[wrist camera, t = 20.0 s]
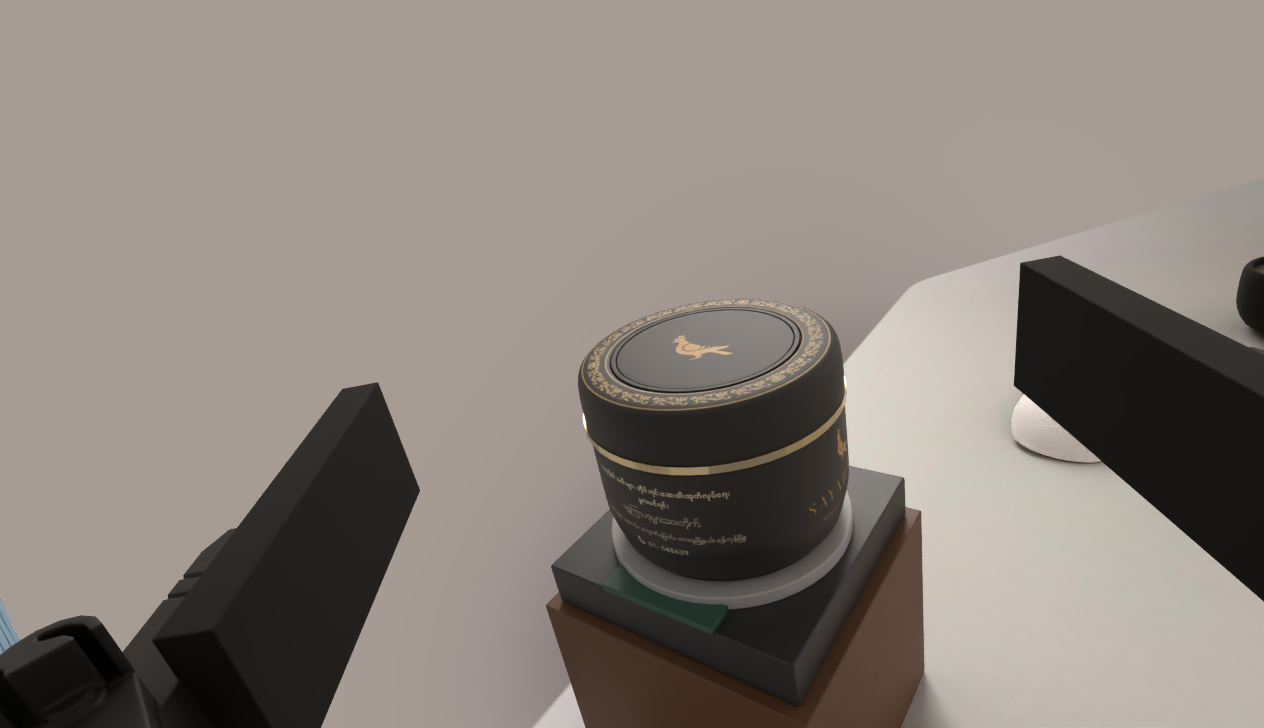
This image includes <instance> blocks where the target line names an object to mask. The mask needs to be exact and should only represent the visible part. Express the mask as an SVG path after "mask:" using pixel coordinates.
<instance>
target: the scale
mask: <svg viewBox="0 0 1264 728" xmlns="http://www.w3.org/2000/svg"><path fill="white" fill-rule="evenodd" d="M551 568H552V571H553V574H554V577H555V581H556V584H557V587H558V590H559V593H558V594H557V595H556V596H555V597H554V598H553V599H552V600H551V601H550V602H549V603H548V604H547V605H546V608H547V611H548V614H549V617H550V620H551V623H552V626H553V629H554V632H555V635H556V638H557V641H558V644H559V648H560V651H561V654H562V656H563V660H564V663H565V666H566V669H567V672H568V675H569V678H570V681H571V684H572V687H573V691H574V694H575V697H576V700H577V703H578V706H579V709H580V712H581V715H582V718H583V721H584V724H585V727H586V728H901V725H902V723H903V720H904V718H905V715H906V713H907V711H908V708H909V706H910V703H911V701H912V699H913V696H914V694H915V691H916V689H917V686H918V684H919V682H920V679H921V677H922V674H923V672H924V630H923V581H922V532H921V511H919V510H915V509H911V508H907V507H905V482H904V478H903V477H899V476H894V475H889V474H885V473H880V472H875V471H871V470H866V469H861V468H856V467H852V466H849V480H848V486H847V490H846V495H845V498H844V502H843V506H842V510H841V513H840V516H839V518H838V521H837V523H836V525H835V526H834V528H833V529H832V531H831V532H830V534H829V535H828V536H827V537H826V538H825V539H824V540H823V541H822V542H821V543H820V544H819V545H818V546H817V547H816V548H815V549H813V550H812V551H811V552H810V553H809V554H807V555H806V556H805V557H803V558H802V559H800V560H799V561H797V562H795V563H793V564H792V565H790V566H788V567H786V568H783V569H781V570H779V571H776V572H773V573H770V574H767V575H764V576H760V577H755V578H750V579H744V580H736V581H707V580H699V579H693V578H689V577H684V576H681V575H678V574H675V573H672V572H670V571H668V570H666V569H664V568H662V567H659V566H657V565H655V564H654V563H652V562H650V561H649V560H647V559H646V558H644V557H643V556H642V555H641V554H639V553H638V552H637V551H636V550H635V549H634V547H633V546H632V545H631V544H630V542H629V541H628V539H627V538H626V536H625V535H624V533H623V532H622V530H621V528H620V527H619V525H618V524H617V522H616V520H615V518H614V517H613V515H612V512H611V510H609V511H608V512H607V513H606V514H605V515H603V516H602V518H601V519H599V520H598V521H597V522H596V523H595V524H594V525H593V526H592V527H591V528H590V529H589V530H588V531H587V532H586V533H585V534H584V535H583V536H582V537H581V538H580V539H578V541H576V542H575V543H574V544H573V545H572V546H571V547H570V548H569V549H568V550H567V551H566V552H565V553H564V554H563V555H562V556H561V557H560V558H559V559H557V560H556V561H555V562H554V564H552V566H551Z"/></svg>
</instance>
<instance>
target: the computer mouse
mask: <svg viewBox="0 0 1264 728" xmlns="http://www.w3.org/2000/svg"><path fill="white" fill-rule="evenodd" d="M1011 425H1012V426H1011V427H1012V428H1011V429H1012V435H1013V438H1014V439H1015V440H1016V441H1018V442H1019V443H1021V444H1022V445H1023V446H1025V447H1026V448H1028V449H1030V450H1032V451H1034V452H1036V453H1040V454H1043V455H1047V456H1049V457H1052V458H1053V457H1054V458H1056V459H1062V460H1066V461H1067V460H1068V461H1075V462H1086V463H1091V462H1100V461H1101V460H1100V459H1098V458H1097V457H1096V456H1095V455H1094V454H1093V453H1092V452H1090V451H1089V450H1088V449H1087V448H1086V447H1085V446H1083V445H1082V444H1081V443H1080V442H1079V441H1078V440H1076V439H1075V438H1074V437H1073V436H1072V435H1071V434H1070V433H1068V432H1067V431H1066V430H1065V429H1064V428H1063V427H1061V426H1060V425H1059V424H1058V423H1057V422H1056V421H1055V420H1053V419H1052V418H1051V417H1050V416H1049V415H1048V414H1046V413H1045V412H1044V411H1043V410H1042V409H1041V408H1039V407H1038V406H1037V405H1036V404H1035V403H1034V402H1033V401H1031V400H1030V399H1029V398H1028V397H1027V396H1026V395H1024V394H1023V396H1022V397H1021V399H1020V401H1018V403H1017V405H1016V406H1015V408H1014V412H1013V415H1012V420H1011Z"/></svg>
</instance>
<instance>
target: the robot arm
mask: <svg viewBox="0 0 1264 728" xmlns="http://www.w3.org/2000/svg"><path fill="white" fill-rule="evenodd" d="M1014 386H1015V387H1016V388H1017V389H1019V390H1020V391H1021V392H1022V393H1023V394H1024V395H1026V396H1027V397H1028V398H1029V399H1030V400H1031V401H1033V402H1034V403H1035V404H1036V405H1037V406H1038V407H1039V408H1041V409H1042V410H1043V411H1044V412H1045V413H1046V414H1048V415H1049V416H1050V417H1051V418H1052V419H1053V420H1055V421H1056V422H1057V423H1058V424H1059V425H1060V426H1061V427H1063V428H1064V429H1065V430H1066V431H1067V432H1068V433H1070V434H1071V435H1072V436H1073V437H1074V438H1075V439H1076V440H1078V441H1079V442H1080V443H1081V444H1082V445H1083V446H1085V447H1086V448H1087V449H1088V450H1089V451H1090V452H1092V453H1093V454H1094V455H1095V456H1096V457H1097V458H1098V459H1100V460H1101V461H1102V462H1103V463H1104V464H1105V465H1107V466H1108V467H1109V468H1110V469H1111V470H1112V471H1114V472H1115V473H1116V474H1117V475H1118V476H1119V477H1120V478H1122V479H1123V480H1124V481H1125V482H1126V483H1127V484H1129V485H1130V486H1131V487H1132V488H1133V489H1134V490H1135V491H1137V492H1138V493H1139V494H1140V495H1141V496H1142V497H1144V498H1145V499H1146V500H1147V501H1148V502H1149V503H1151V504H1152V505H1153V506H1154V507H1155V508H1156V509H1157V510H1159V511H1160V512H1161V513H1162V514H1163V515H1164V516H1166V517H1167V518H1168V519H1169V520H1170V521H1171V522H1173V523H1174V524H1175V525H1176V526H1177V527H1178V528H1179V529H1181V530H1182V531H1183V532H1184V533H1185V534H1186V535H1188V536H1189V537H1190V538H1191V539H1192V540H1193V541H1195V542H1196V543H1197V544H1198V545H1199V546H1200V547H1201V548H1203V549H1204V550H1205V551H1206V552H1207V553H1208V554H1210V555H1211V556H1212V557H1213V558H1214V559H1215V560H1216V561H1218V562H1219V563H1220V564H1221V565H1222V566H1223V567H1225V568H1226V569H1227V570H1228V571H1229V572H1230V573H1232V574H1233V575H1234V576H1235V577H1236V578H1237V579H1238V580H1240V581H1241V582H1242V583H1243V584H1244V585H1245V586H1247V587H1248V588H1249V589H1250V590H1251V591H1252V592H1254V593H1255V594H1256V595H1257V596H1258V597H1259V598H1260V599H1262V600H1263V601H1264V350H1261V349H1257V348H1254V347H1247V346H1245V345H1242V344H1240V343H1238V342H1236V341H1234V340H1232V339H1230V338H1228V337H1226V336H1224V335H1222V334H1220V333H1218V332H1216V331H1214V330H1212V329H1210V328H1208V327H1206V326H1203V325H1201V324H1199V323H1197V322H1195V321H1193V320H1191V319H1189V318H1187V317H1185V316H1183V315H1181V314H1179V313H1177V312H1175V311H1173V310H1171V309H1169V308H1167V307H1164V306H1162V305H1160V304H1158V303H1156V302H1154V301H1152V300H1150V299H1148V298H1146V297H1144V296H1142V295H1140V294H1138V293H1136V292H1134V291H1132V290H1130V289H1128V288H1126V287H1123V286H1121V285H1119V284H1117V283H1115V282H1113V281H1111V280H1109V279H1107V278H1105V277H1103V276H1101V275H1099V274H1097V273H1095V272H1093V271H1091V270H1089V269H1087V268H1084V267H1082V266H1080V265H1078V264H1076V263H1074V262H1072V261H1070V260H1068V259H1066V258H1064V257H1062V256H1055V257H1050V258H1044V259H1039V260H1034V261H1028V262H1023V263H1020V282H1019V300H1018V319H1017V338H1016V356H1015V375H1014ZM419 492H420V489H419V486H418V484H417V481H416V479H415V477H414V474H413V471H412V468H411V466H410V463H409V461H408V458H407V456H406V453H405V450H404V448H403V445H402V443H401V440H400V438H399V435H398V432H397V430H396V427H395V425H394V422H393V420H392V417H391V415H390V412H389V410H388V407H387V404H386V402H385V399H384V397H383V394H382V392H381V389H380V386H379V384H378V383H372V384H367V385H362V386H356V387H350V388H345V389H342V390H341V392H340V393H339V394H338V396H337V397H336V398H335V399H334V401H333V402H332V403H331V405H330V406H329V407H328V409H327V410H326V411H325V413H324V414H323V415H322V417H321V418H320V419H319V421H318V422H317V423H316V425H315V426H314V427H313V429H312V430H311V431H310V432H309V434H308V435H307V436H306V438H305V439H304V440H303V442H302V443H301V444H300V446H299V447H298V448H297V450H296V451H295V452H294V454H293V455H292V456H291V458H290V459H289V460H288V461H287V463H286V464H285V465H284V467H283V468H282V469H281V471H280V472H279V473H278V475H277V476H276V477H275V479H274V480H273V481H272V483H271V484H270V485H269V487H268V488H267V489H266V491H265V492H264V493H263V494H262V496H261V497H260V498H259V500H258V501H257V502H256V504H255V505H254V506H253V508H252V509H251V510H250V512H249V513H248V514H247V516H246V517H245V518H244V519H243V521H242V522H241V524H240V525H239V526H238V527H237V528H235V529H230V530H228V531H227V532H226V533H225V534H223V535H222V536H221V537H220V538H219V539H217V540H216V541H215V542H214V543H212V544H211V545H210V546H209V547H207V548H206V549H205V550H204V551H202V552H201V554H200V555H199V556H198V558H197V559H196V560H195V561H194V563H193V564H192V565H191V566H190V568H189V569H188V570H187V571H186V573H185V574H184V579H183V580H179V582H178V583H177V584H176V585H175V587H174V588H173V589H172V591H171V592H170V593H169V594H168V599H167V600H164V601H163V602H162V603H161V604H160V605H159V607H158V608H157V609H156V611H155V612H154V613H153V614H152V616H151V617H150V618H149V619H148V621H147V622H146V623H145V624H144V626H143V627H142V628H141V630H140V631H139V632H138V633H137V635H136V636H135V637H134V638H133V640H132V641H131V642H130V643H129V645H128V646H127V647H126V649H125V650H124V651H123V652H122V651H121V650H120V648H119V647H118V646H117V644H116V643H115V641H114V640H113V638H112V637H111V635H110V634H109V633H108V631H107V630H106V628H105V627H104V626H103V624H102V623H101V622H100V621H99V620H98V619H97V618H96V617H93V616H77V617H73V618H69V619H65V620H61V621H58V622H56V623H53V624H51V625H49V626H47V627H45V628H42V629H40V630H37V631H35V632H34V633H32V634H30V635H29V636H27V637H25V638H24V639H22V640H20V641H19V639H18V637H17V634H16V632H15V630H14V628H13V626H12V624H11V621H10V619H9V617H8V615H7V613H6V611H5V609H4V606H3V604H2V603H1V600H0V728H321V726H322V723H323V721H324V719H325V716H326V714H327V712H328V709H329V707H330V704H331V702H332V700H333V697H334V694H335V692H336V690H337V688H338V685H339V683H340V680H341V678H342V676H343V673H344V671H345V669H346V666H347V664H348V661H349V659H350V657H351V654H352V652H353V649H354V647H355V645H356V642H357V640H358V637H359V635H360V633H361V630H362V628H363V625H364V623H365V621H366V618H367V616H368V614H369V611H370V609H371V606H372V604H373V602H374V599H375V597H376V594H377V592H378V590H379V587H380V585H381V582H382V580H383V578H384V575H385V573H386V570H387V568H388V566H389V563H390V561H391V559H392V556H393V553H394V551H395V549H396V547H397V544H398V542H399V539H400V537H401V534H402V532H403V530H404V527H405V525H406V523H407V520H408V518H409V515H410V513H411V511H412V508H413V506H414V503H415V501H416V499H417V496H418V494H419Z"/></svg>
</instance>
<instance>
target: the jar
mask: <svg viewBox="0 0 1264 728" xmlns="http://www.w3.org/2000/svg"><path fill="white" fill-rule="evenodd" d="M578 388H579V394H580V400H581V405H582V409H583V423H584V427H585V430H586V434H587V437H588V439H589V440H590V442H591V444H592V445H593V448H594V452H595V455H596V459H597V463H598V467H599V471H600V475H601V479H602V483H603V486H604V490H605V494H606V497H607V501H608V505H609V508H610V510H611V512H612V515H613V517H614V518H615V520H616V522H617V524H618V525H619V527H620V528H621V530H622V532H623V533H624V535H625V536H626V538H627V539H628V541H629V542H630V544H631V545H632V546H633V547H634V549H635V550H636V551H637V552H638V553H639V554H641V555H642V556H643V557H644V558H646V559H647V560H649V561H650V562H652V563H654V564H655V565H657V566H659V567H662V568H664V569H666V570H668V571H670V572H672V573H675V574H678V575H681V576H684V577H689V578H693V579H699V580H707V581H736V580H744V579H750V578H755V577H760V576H764V575H767V574H770V573H773V572H776V571H779V570H781V569H783V568H786V567H788V566H790V565H792V564H793V563H795V562H797V561H799V560H800V559H802V558H803V557H805V556H806V555H807V554H809V553H810V552H811V551H812V550H813V549H815V548H816V547H817V546H818V545H819V544H820V543H821V542H822V541H823V540H824V539H825V538H826V537H827V536H828V535H829V534H830V532H831V531H832V529H833V528H834V526H835V525H836V523H837V521H838V518H839V516H840V513H841V510H842V506H843V502H844V498H845V495H846V490H847V486H848V480H849V458H848V443H847V428H846V414H845V402H846V394H847V389H846V381H845V376H844V369H843V359H842V352H841V347H840V342H839V339H838V336H837V334H836V332H835V330H834V329H833V327H832V326H831V325H830V324H829V323H828V321H826V320H825V319H824V318H823V317H821V316H820V315H818V314H816V313H814V312H813V311H811V310H808V309H806V308H803V307H800V306H797V305H794V304H790V303H785V302H780V301H773V300H762V299H726V300H715V301H707V302H700V303H694V304H689V305H684V306H679V307H675V308H671V309H668V310H664V311H661V312H658V313H655V314H651V315H649V316H646V317H644V318H641V319H638V320H636V321H634V322H631V323H629V324H627V325H625V326H623V327H621V328H619V329H618V330H616V331H614V332H613V333H611V334H609V335H608V336H606V337H605V338H604V339H602V340H601V341H600V342H599V343H598V344H597V345H595V346H594V348H592V350H591V351H590V352H589V353H588V354H587V356H586V357H585V358H584V360H583V362H582V364H581V367H580V370H579V375H578Z"/></svg>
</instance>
